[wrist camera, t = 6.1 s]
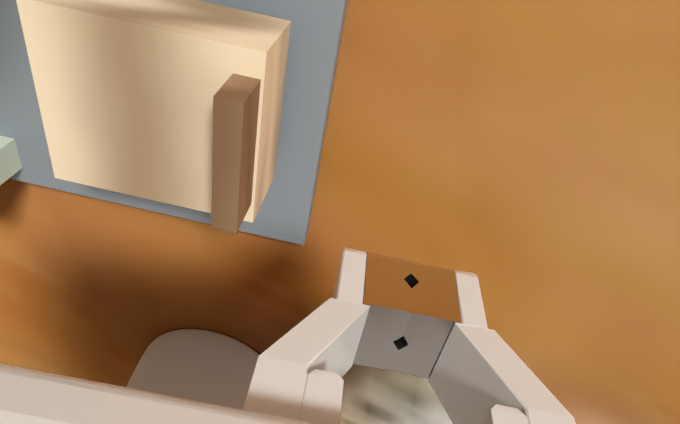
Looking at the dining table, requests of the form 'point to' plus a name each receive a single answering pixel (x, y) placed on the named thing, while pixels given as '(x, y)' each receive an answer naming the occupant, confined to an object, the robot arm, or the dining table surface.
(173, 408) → the robot arm
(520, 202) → the dining table surface
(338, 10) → the dock
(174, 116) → the beige box with tab
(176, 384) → the mug
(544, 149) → the dining table surface
